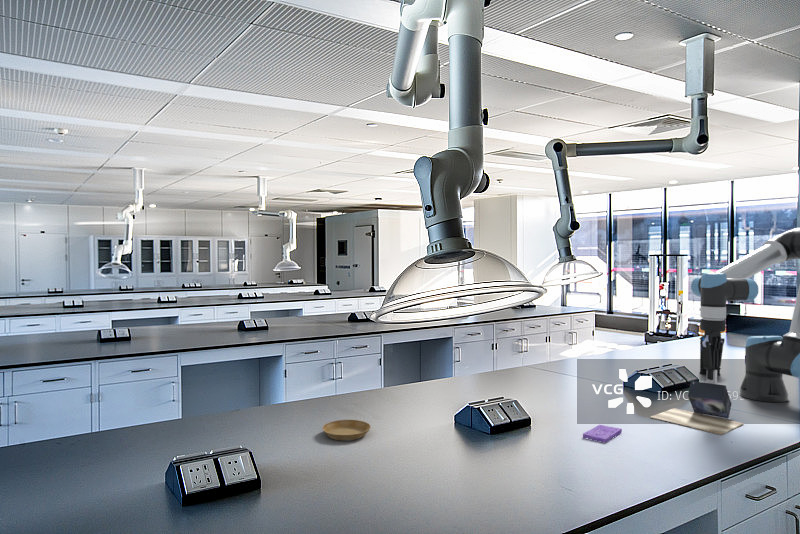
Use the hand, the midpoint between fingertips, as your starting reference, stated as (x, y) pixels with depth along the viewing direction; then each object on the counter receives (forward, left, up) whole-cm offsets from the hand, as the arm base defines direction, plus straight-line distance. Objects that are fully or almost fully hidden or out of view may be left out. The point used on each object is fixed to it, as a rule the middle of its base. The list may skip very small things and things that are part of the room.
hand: (711, 388), depth 187 cm
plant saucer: (+107, -60, -9) cm, 123 cm away
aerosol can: (-63, -28, -9) cm, 69 cm away
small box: (0, 0, -7) cm, 7 cm away
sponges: (+47, -11, -10) cm, 49 cm away
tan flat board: (+12, 0, -9) cm, 14 cm away
